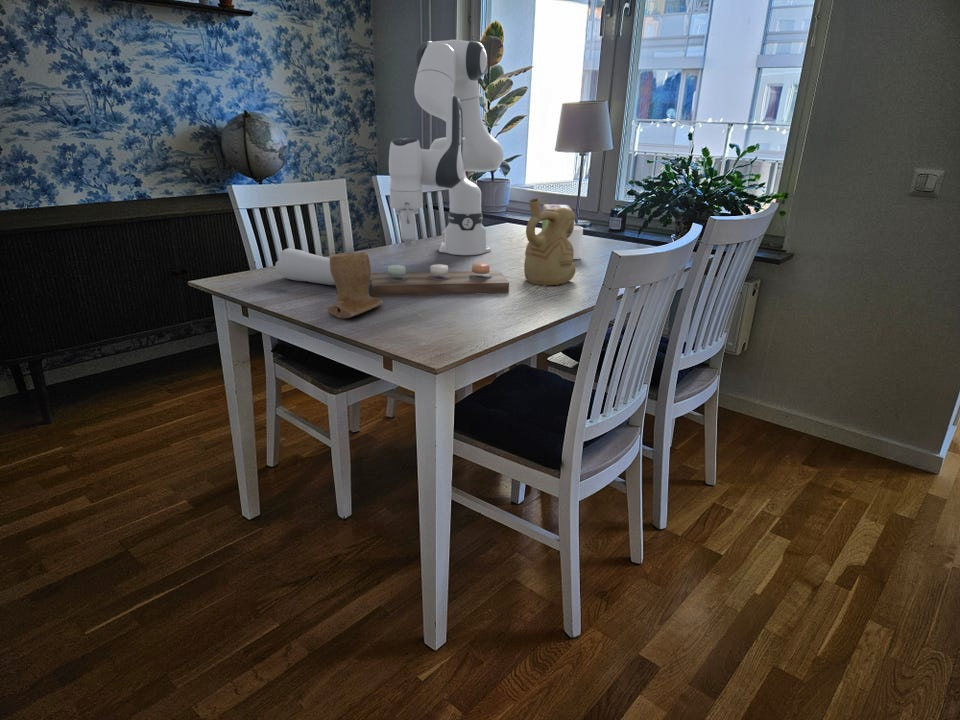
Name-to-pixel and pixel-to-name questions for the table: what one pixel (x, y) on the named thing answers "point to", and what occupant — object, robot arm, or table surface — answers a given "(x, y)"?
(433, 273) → the button cream
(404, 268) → the button sage
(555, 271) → the ceramic vessel
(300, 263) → the bottle
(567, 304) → the table surface
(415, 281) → the button panel
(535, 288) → the table surface
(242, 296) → the table surface
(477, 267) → the button terracotta
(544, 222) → the tea box
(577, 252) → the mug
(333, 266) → the stone cup
